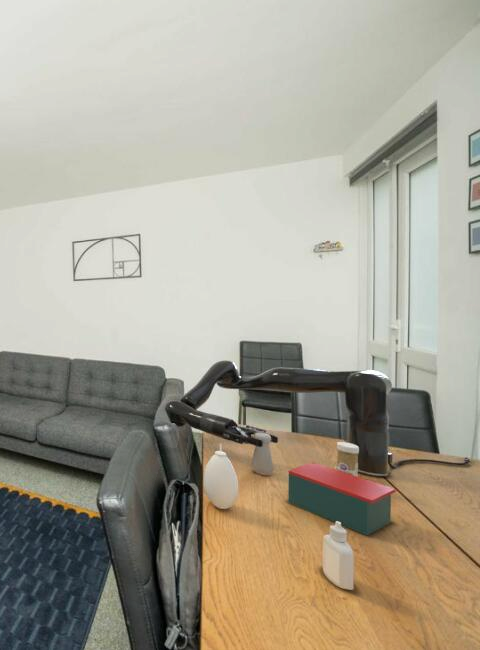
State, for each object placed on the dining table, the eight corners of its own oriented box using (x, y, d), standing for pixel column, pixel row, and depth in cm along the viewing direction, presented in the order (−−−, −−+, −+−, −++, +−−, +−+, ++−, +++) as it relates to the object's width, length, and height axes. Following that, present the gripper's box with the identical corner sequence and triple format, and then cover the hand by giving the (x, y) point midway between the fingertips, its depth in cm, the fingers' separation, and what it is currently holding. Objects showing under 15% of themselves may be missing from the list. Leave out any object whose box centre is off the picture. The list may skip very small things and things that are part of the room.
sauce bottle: (231, 501, 101) (232, 439, 100) (243, 517, 93) (243, 450, 93) (200, 497, 103) (200, 436, 103) (208, 512, 96) (208, 446, 96)
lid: (395, 492, 90) (395, 489, 90) (371, 503, 85) (372, 500, 85) (312, 464, 105) (312, 462, 105) (288, 473, 100) (288, 470, 100)
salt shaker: (278, 477, 114) (278, 437, 114) (257, 476, 115) (258, 436, 115) (266, 469, 120) (267, 431, 120) (247, 467, 121) (247, 430, 121)
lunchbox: (390, 522, 91) (391, 490, 91) (366, 535, 86) (367, 501, 86) (312, 492, 105) (312, 465, 105) (288, 502, 100) (288, 473, 100)
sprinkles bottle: (334, 487, 108) (335, 443, 108) (338, 482, 111) (338, 440, 110) (356, 493, 104) (357, 448, 104) (359, 489, 107) (360, 445, 107)
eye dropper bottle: (321, 581, 72) (322, 523, 72) (322, 567, 76) (323, 512, 76) (353, 594, 69) (354, 533, 69) (352, 578, 73) (353, 521, 73)
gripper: (205, 418, 128) (256, 434, 113) (230, 413, 133) (282, 427, 118) (205, 439, 128) (256, 457, 113) (230, 433, 133) (282, 449, 118)
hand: (269, 442), depth 116 cm, fingers open, 8 cm apart
